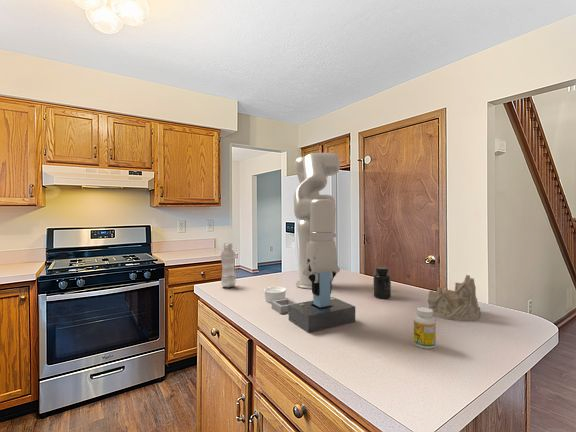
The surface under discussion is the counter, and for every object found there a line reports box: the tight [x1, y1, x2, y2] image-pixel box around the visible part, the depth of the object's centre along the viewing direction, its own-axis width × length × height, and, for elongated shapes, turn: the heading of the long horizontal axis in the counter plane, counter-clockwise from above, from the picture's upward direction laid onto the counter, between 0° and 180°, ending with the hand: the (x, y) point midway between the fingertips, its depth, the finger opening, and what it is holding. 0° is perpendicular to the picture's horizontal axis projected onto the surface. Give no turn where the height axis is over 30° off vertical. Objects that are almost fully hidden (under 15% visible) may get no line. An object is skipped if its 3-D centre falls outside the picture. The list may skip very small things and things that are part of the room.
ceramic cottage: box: [427, 274, 482, 323], centre depth 110 cm, size 16×16×15 cm
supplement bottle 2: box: [413, 307, 437, 350], centre depth 85 cm, size 5×5×10 cm
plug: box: [312, 271, 332, 307], centre depth 102 cm, size 4×4×12 cm
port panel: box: [288, 296, 356, 333], centre depth 102 cm, size 18×12×5 cm, turn 119°
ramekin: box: [263, 286, 287, 304], centre depth 126 cm, size 9×9×4 cm
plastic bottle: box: [220, 242, 237, 288], centre depth 145 cm, size 6×7×20 cm
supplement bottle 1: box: [373, 266, 392, 300], centre depth 129 cm, size 7×7×12 cm
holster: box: [271, 298, 297, 315], centre depth 114 cm, size 7×7×2 cm
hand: (321, 293), depth 102 cm, fingers closed on plug, 4 cm apart
